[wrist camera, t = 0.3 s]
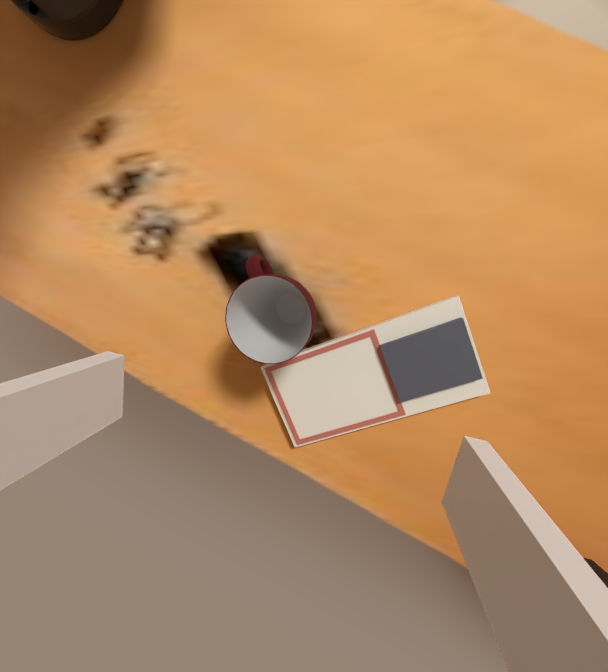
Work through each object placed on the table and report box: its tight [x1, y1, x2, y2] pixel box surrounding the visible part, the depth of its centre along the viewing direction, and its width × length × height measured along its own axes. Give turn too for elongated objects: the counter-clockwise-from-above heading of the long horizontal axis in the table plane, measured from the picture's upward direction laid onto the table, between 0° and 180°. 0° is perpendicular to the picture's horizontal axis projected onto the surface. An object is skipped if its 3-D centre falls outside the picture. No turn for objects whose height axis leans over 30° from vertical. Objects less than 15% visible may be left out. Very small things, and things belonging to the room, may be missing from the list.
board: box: [260, 295, 490, 447], centre depth 34 cm, size 12×24×2 cm, turn 112°
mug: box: [226, 255, 317, 364], centre depth 30 cm, size 10×8×10 cm
